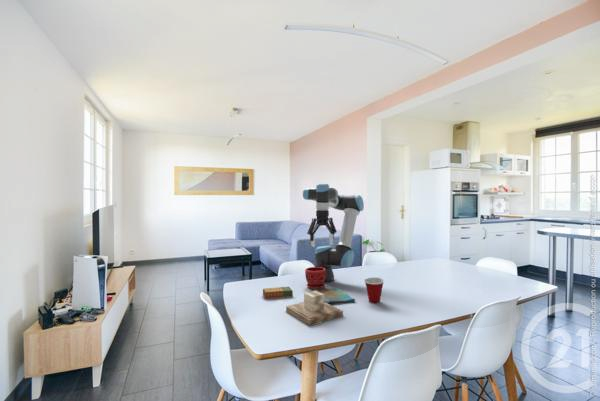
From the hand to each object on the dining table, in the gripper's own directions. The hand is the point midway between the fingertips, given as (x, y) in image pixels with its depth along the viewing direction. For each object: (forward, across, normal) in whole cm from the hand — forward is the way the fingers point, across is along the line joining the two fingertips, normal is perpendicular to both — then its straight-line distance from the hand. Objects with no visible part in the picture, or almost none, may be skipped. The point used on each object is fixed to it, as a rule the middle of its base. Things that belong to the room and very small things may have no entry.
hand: (322, 245), depth 174 cm
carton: (+29, +24, -11) cm, 39 cm away
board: (+29, +22, +22) cm, 42 cm away
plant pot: (+29, -4, -12) cm, 32 cm away
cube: (+26, +22, +22) cm, 40 cm away
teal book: (+29, -2, +8) cm, 31 cm away
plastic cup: (+29, -16, +26) cm, 42 cm away
